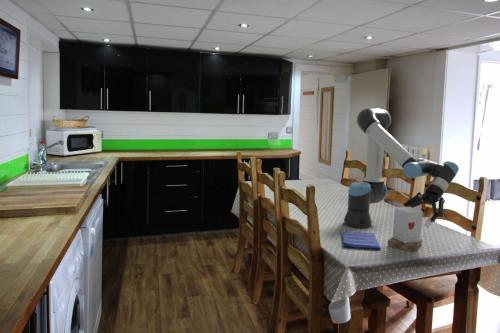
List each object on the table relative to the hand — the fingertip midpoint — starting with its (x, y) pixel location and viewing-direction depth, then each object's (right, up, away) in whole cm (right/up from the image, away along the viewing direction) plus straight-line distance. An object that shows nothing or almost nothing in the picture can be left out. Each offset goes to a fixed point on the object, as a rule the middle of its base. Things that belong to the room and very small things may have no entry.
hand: (413, 222), depth 184 cm
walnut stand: (-4, -11, 0) cm, 12 cm away
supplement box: (-4, -8, -1) cm, 9 cm away
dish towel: (-24, -11, +5) cm, 27 cm away
